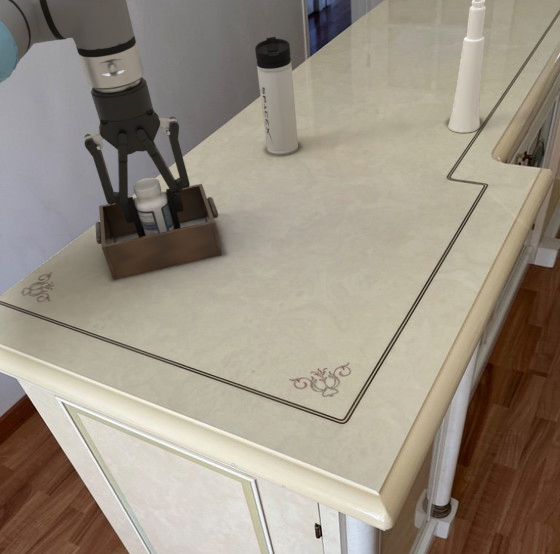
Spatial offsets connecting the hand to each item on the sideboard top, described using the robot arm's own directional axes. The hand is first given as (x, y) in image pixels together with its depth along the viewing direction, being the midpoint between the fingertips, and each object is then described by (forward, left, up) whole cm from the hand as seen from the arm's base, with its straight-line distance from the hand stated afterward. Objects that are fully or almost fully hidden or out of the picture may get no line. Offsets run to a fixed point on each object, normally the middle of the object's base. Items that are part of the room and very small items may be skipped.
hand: (160, 233), depth 95 cm
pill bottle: (0, 0, 0) cm, 1 cm away
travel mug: (+27, +26, -3) cm, 38 cm away
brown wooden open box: (0, 0, -3) cm, 3 cm away
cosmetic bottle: (+63, +20, -3) cm, 66 cm away
